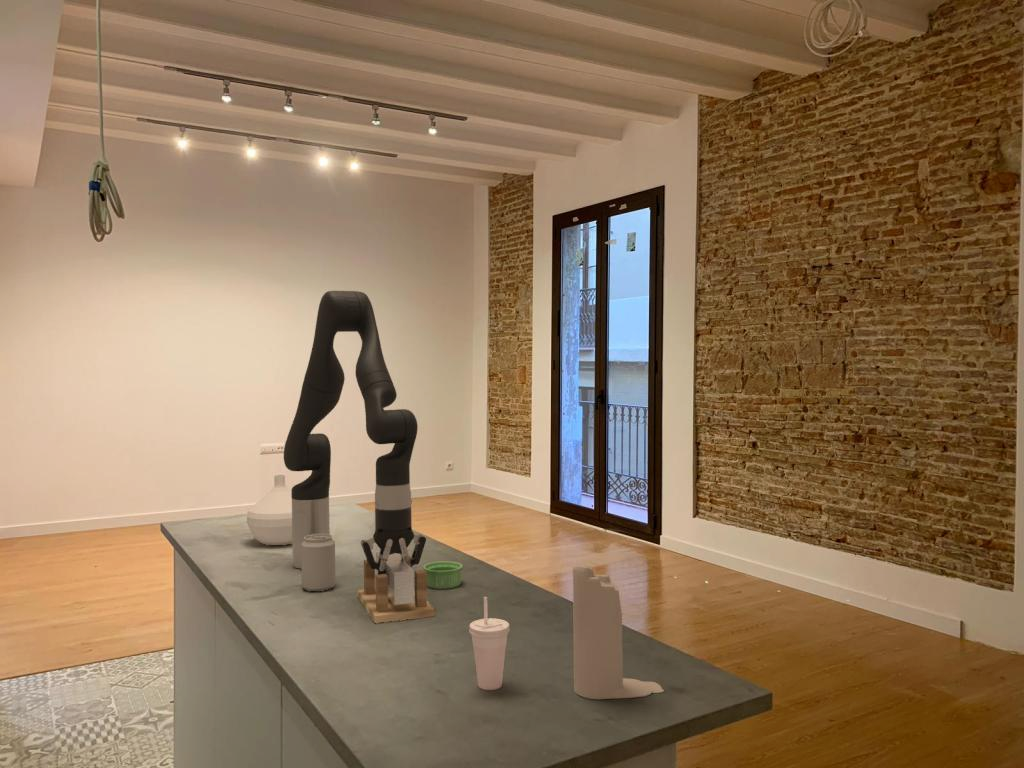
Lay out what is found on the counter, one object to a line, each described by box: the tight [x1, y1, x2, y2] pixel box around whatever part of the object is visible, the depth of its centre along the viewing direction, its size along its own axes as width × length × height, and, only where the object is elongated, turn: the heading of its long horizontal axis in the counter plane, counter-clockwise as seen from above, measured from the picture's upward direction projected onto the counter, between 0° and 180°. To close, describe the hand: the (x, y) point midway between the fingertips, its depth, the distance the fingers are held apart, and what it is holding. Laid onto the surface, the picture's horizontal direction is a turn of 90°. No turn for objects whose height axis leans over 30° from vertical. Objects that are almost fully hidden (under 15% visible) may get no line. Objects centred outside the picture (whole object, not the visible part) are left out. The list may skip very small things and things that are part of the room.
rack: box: [357, 555, 435, 624], centre depth 167 cm, size 19×12×8 cm, turn 21°
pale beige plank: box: [375, 551, 415, 605], centre depth 167 cm, size 18×4×6 cm, turn 21°
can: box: [301, 534, 337, 592], centre depth 181 cm, size 8×8×12 cm
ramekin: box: [422, 560, 463, 590], centre depth 183 cm, size 9×9×4 cm
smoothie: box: [469, 596, 510, 691], centre depth 126 cm, size 6×6×14 cm
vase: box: [246, 474, 292, 546], centre depth 228 cm, size 18×18×19 cm
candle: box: [572, 563, 665, 700], centre depth 124 cm, size 7×14×20 cm, turn 95°
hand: (394, 586), depth 167 cm, fingers closed on pale beige plank, 4 cm apart
